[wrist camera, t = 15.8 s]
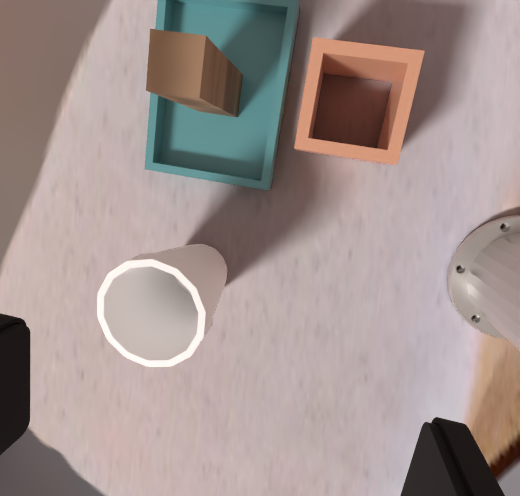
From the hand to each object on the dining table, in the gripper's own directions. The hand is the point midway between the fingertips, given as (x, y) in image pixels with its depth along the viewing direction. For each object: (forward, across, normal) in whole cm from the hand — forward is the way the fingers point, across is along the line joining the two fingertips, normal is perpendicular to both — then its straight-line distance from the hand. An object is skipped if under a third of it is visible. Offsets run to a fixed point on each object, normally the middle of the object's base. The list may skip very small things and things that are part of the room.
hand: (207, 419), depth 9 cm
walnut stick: (+32, +10, -11) cm, 35 cm away
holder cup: (+32, -3, -11) cm, 34 cm away
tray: (+32, +10, -11) cm, 36 cm away
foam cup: (+32, +10, +8) cm, 35 cm away
